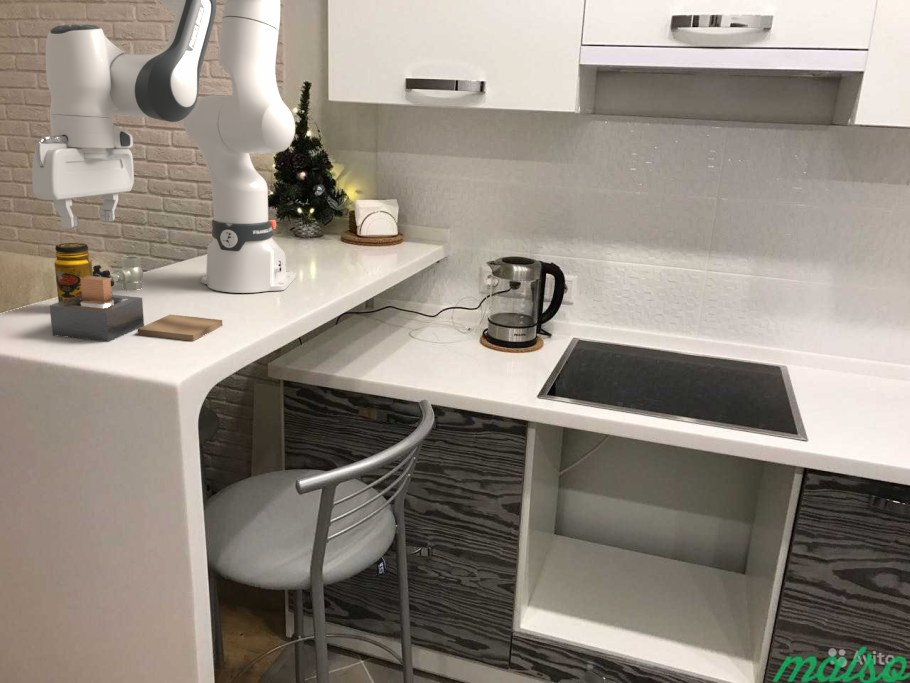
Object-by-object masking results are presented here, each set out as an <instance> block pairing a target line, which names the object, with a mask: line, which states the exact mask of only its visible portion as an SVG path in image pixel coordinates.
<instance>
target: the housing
mask: <svg viewBox="0 0 910 683" xmlns="http://www.w3.org/2000/svg"><path fill="white" fill-rule="evenodd" d="M111 295H112V300H114V305H111V306H109V307H106V308H94V307H85V306H81V301H82V295H79V296H76V297H73V298H70V299H67V300H64V301H61V302H58V301H57V302H56V303H55V302H54V303H53V304H49V313H50V314H49V315H50V323H51V324H50V325H51V332H52V334H51V335H52V336H55V335H58V336H57V337H63V336H68V337H67V338H72V337H73V339H81V340H83V339H84V340H89V339H90V341H99V342H108V343H109V342H111V341H113V340H115V338H116V339H117V338H119V337H122V336H124V334H125V335H127V334H129V333H132V332H133V330H134V331H136V330H138V328H141V327H142V326H145V319H144V318H145V317H144V304H143V303H144V302H143V297H138V296H130V295H119V294H113V293H112V294H111ZM135 329H136V330H135Z"/></svg>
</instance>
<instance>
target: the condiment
mask: <svg viewBox="0 0 910 683" xmlns="http://www.w3.org/2000/svg"><path fill="white" fill-rule="evenodd" d="M54 249H55V252H56V253H55V257H56V259H55V260H54V272H55V281H56V290H57V291H56V292H57V298H58V300H57V303H58V302H61V301H64V300H67V299H70V298H73V297H76V296H79V295H82V290H81V279H80V278H83V277H86V276H93V271H94V270H93V262H92V259H91V258H90V254H89V253H90V252H89V247H88V244H86V243H83V242H65V243H59V244H57V245H55V248H54Z"/></svg>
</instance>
